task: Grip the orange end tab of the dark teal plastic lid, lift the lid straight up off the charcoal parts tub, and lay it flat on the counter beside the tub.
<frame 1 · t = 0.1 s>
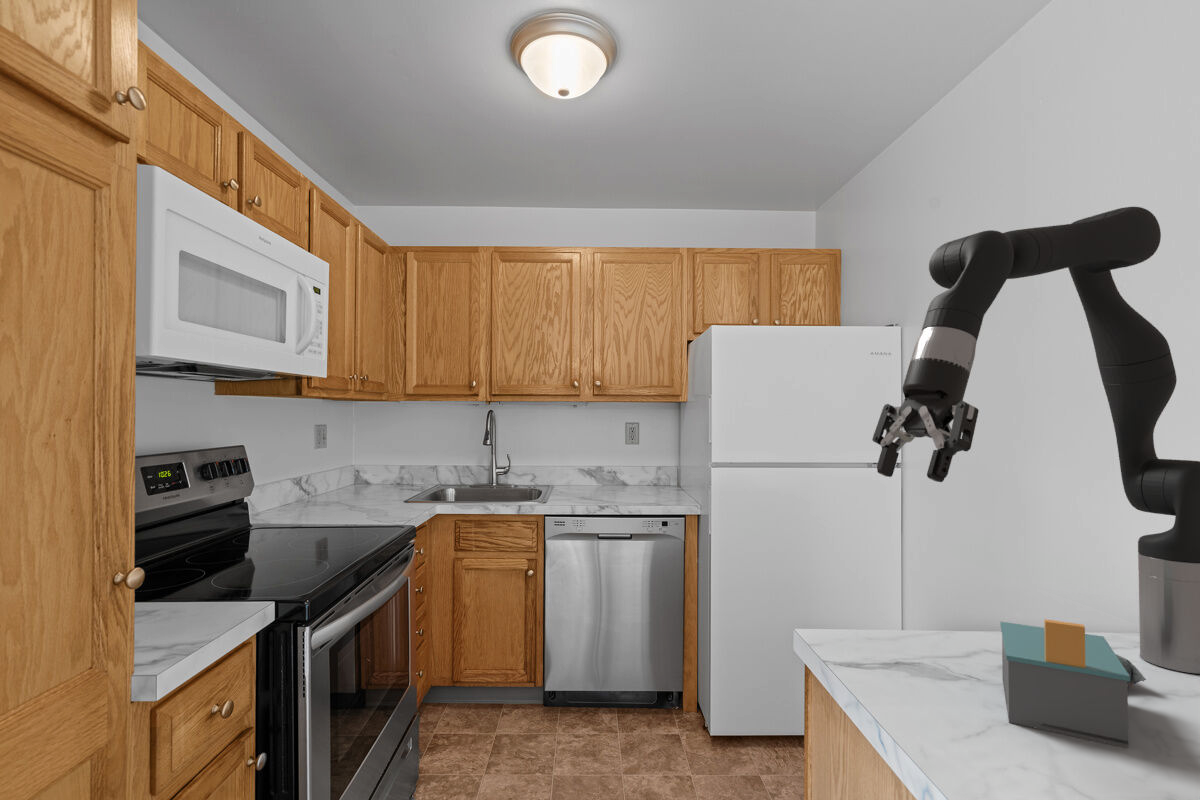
hand: (907, 477, 84), 31 cm above the countertop, fingers open, 8 cm apart
lid: (1057, 650, 85), point 8 cm above the countertop, touching tub
tub: (1058, 709, 85), on the countertop
packaged food: (1085, 679, 96), on the countertop
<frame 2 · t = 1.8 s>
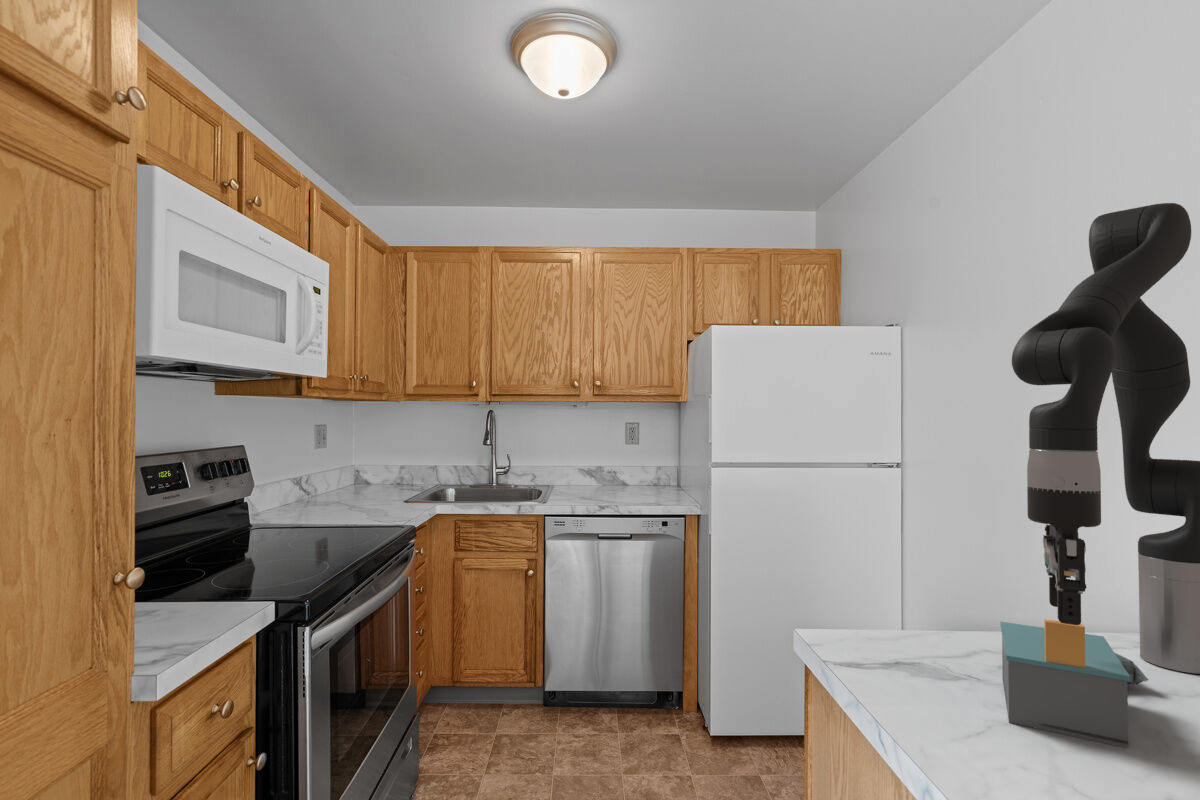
hand: (1064, 614, 79), 15 cm above the countertop, fingers open, 8 cm apart
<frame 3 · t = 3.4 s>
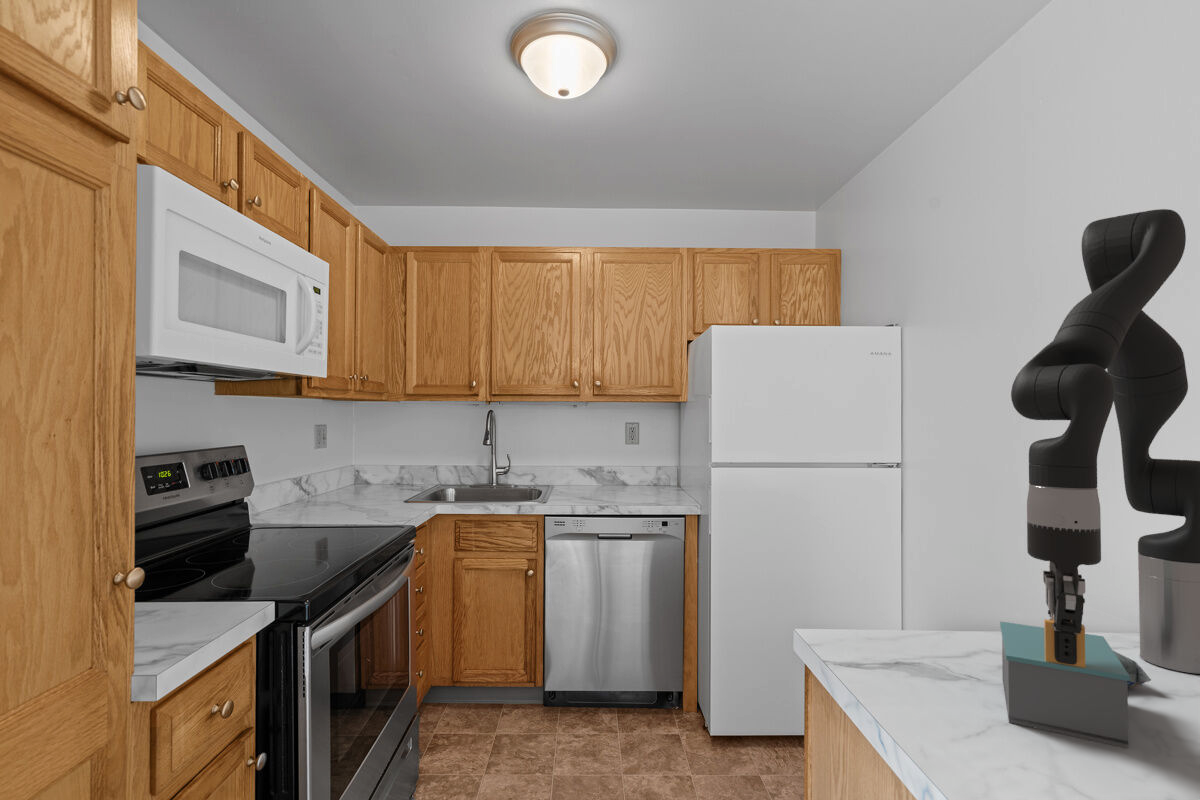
hand: (1064, 659, 79), 9 cm above the countertop, fingers closed on lid
lid: (1057, 649, 85), point 8 cm above the countertop, touching gripper
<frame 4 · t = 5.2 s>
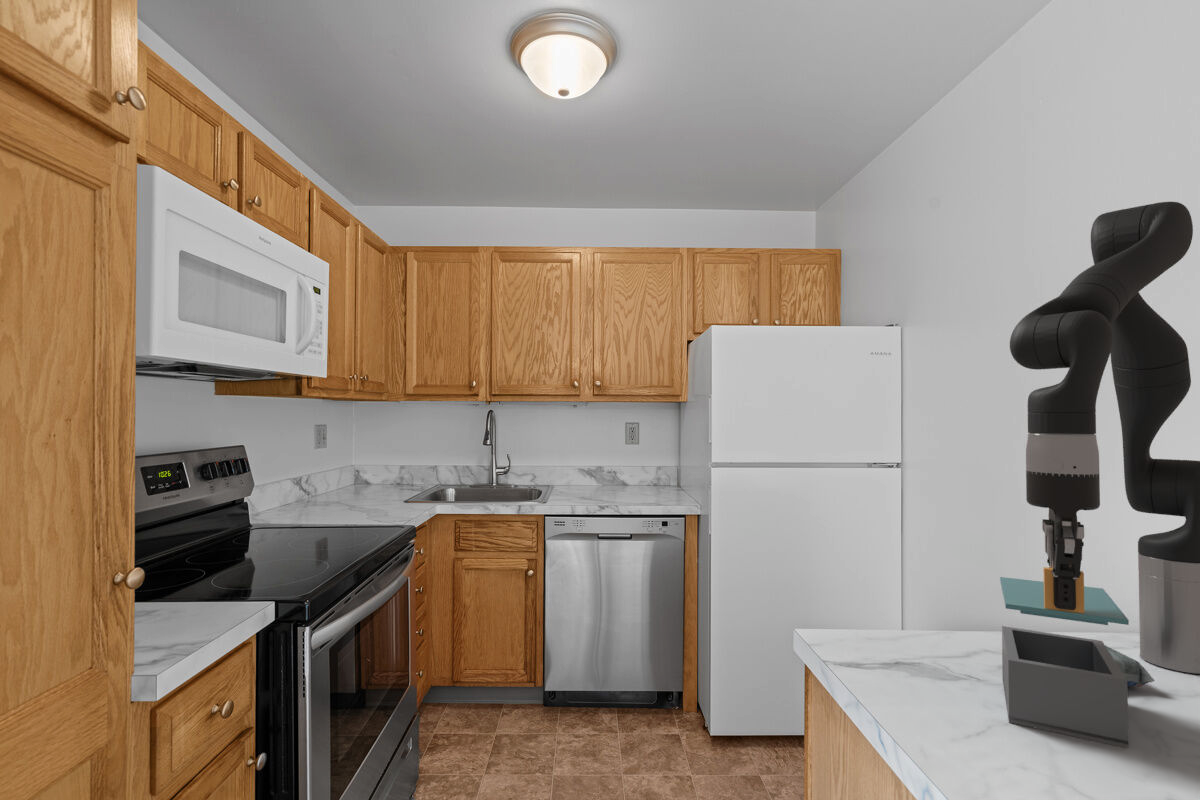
hand: (1063, 606, 79), 16 cm above the countertop, fingers closed on lid
lid: (1056, 600, 85), point 15 cm above the countertop, touching gripper
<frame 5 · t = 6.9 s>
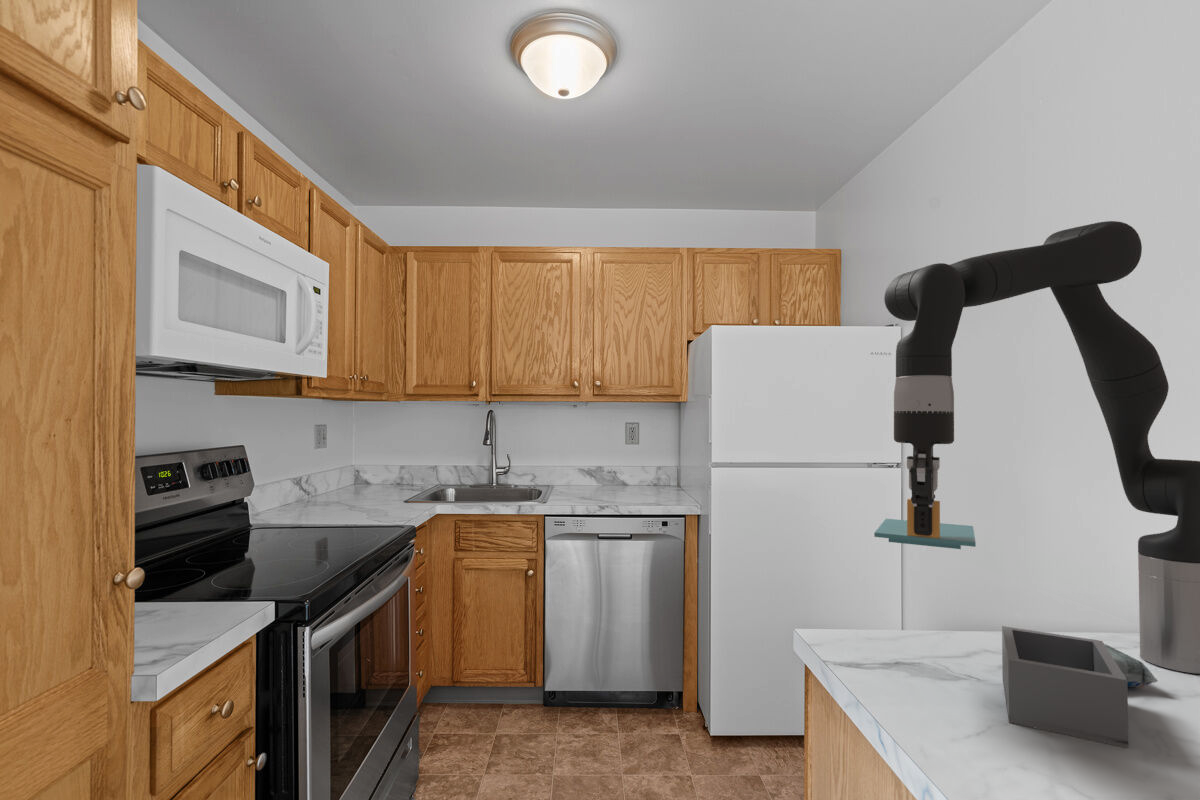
hand: (923, 533, 87), 23 cm above the countertop, fingers closed on lid
lid: (925, 533, 93), point 22 cm above the countertop, touching gripper
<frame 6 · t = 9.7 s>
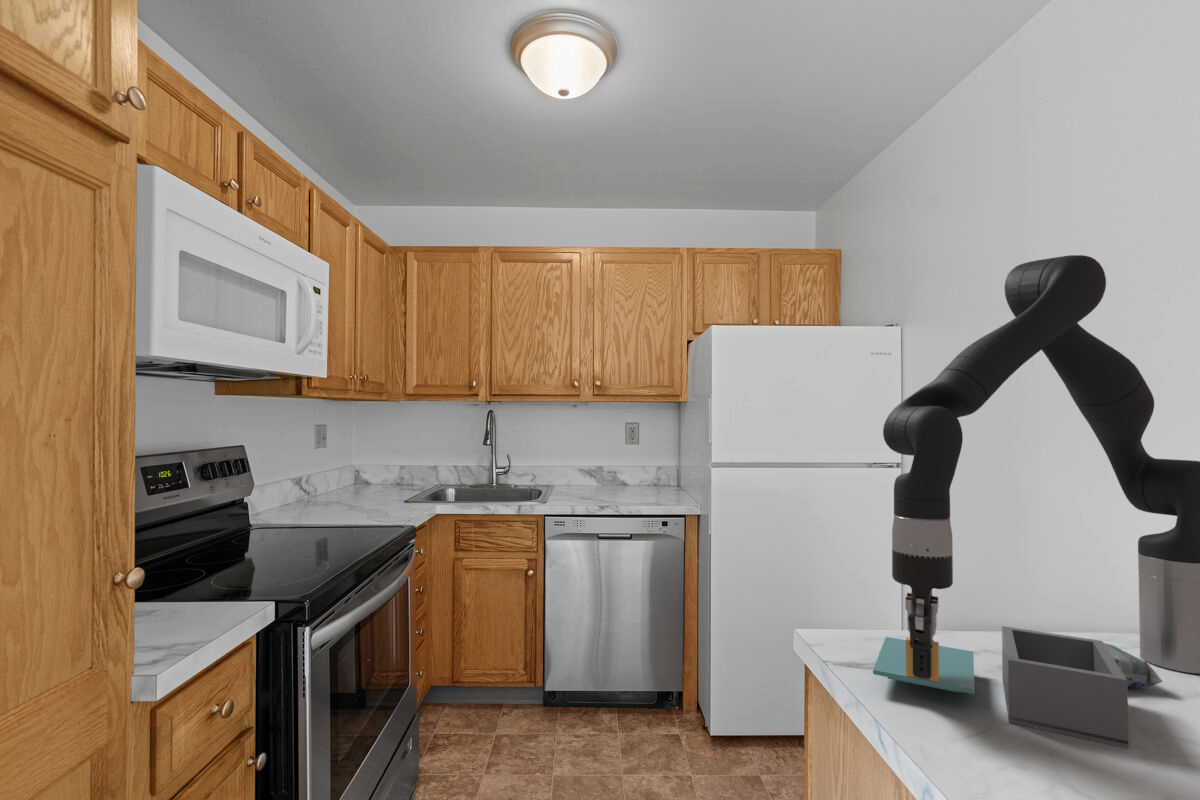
hand: (922, 674, 86), 4 cm above the countertop, fingers closed on lid
lid: (925, 664, 93), point 3 cm above the countertop, touching gripper
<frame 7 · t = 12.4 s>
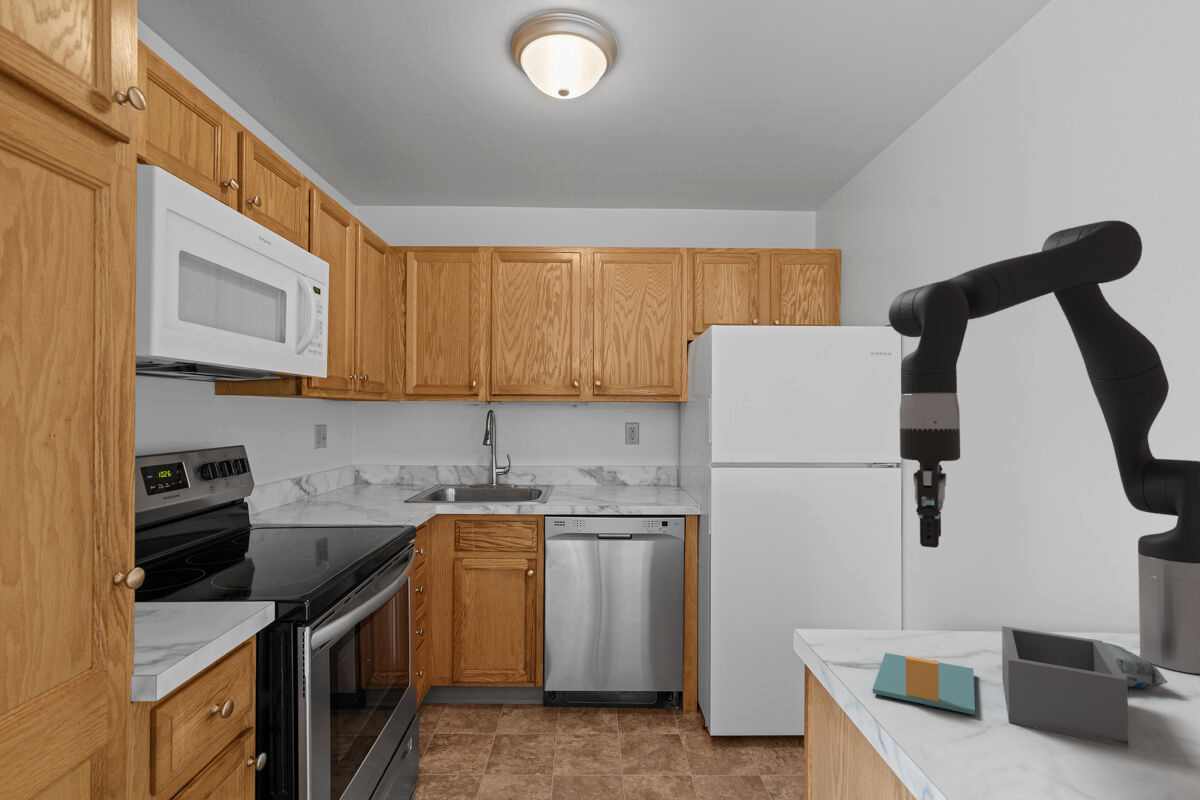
hand: (931, 541, 88), 22 cm above the countertop, fingers open, 8 cm apart
lid: (925, 682, 92), on the countertop
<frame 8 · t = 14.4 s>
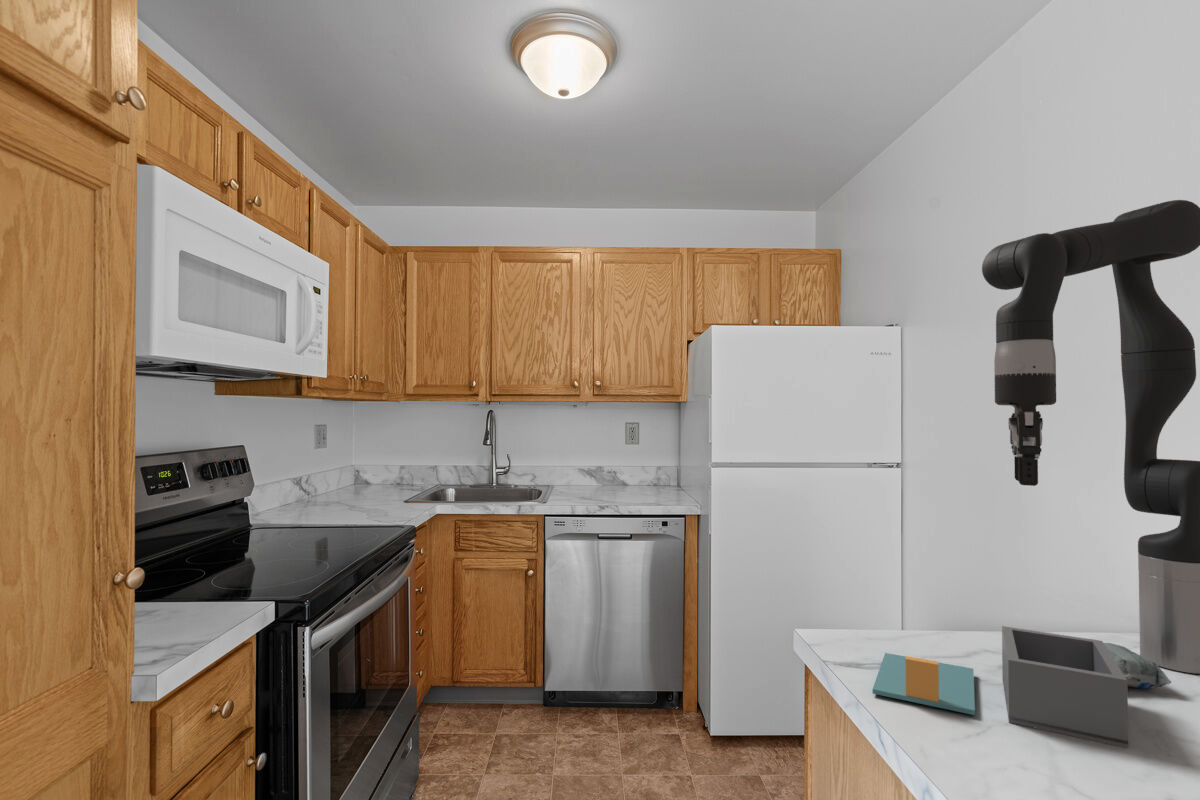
hand: (1025, 483, 92), 30 cm above the countertop, fingers open, 8 cm apart
at the end: lid inside the target area (1.0 cm from its centre), on the countertop; lid touching countertop; lid tilted 0° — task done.
